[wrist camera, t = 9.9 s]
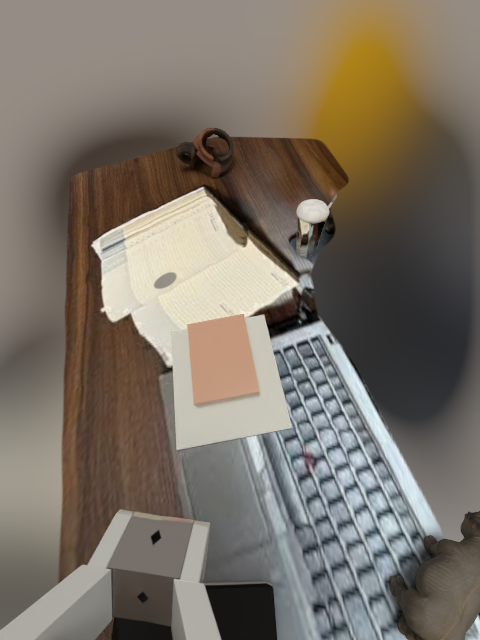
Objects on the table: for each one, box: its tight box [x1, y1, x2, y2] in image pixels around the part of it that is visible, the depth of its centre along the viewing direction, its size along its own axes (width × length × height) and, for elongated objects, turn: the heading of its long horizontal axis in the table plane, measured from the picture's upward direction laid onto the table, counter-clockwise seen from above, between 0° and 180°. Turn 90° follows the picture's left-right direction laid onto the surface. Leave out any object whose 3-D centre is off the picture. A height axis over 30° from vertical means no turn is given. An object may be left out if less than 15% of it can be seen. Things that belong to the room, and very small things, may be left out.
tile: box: [187, 314, 260, 408], centre depth 36 cm, size 2×8×11 cm
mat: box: [171, 315, 292, 450], centre depth 36 cm, size 16×14×1 cm
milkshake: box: [296, 195, 337, 258], centre depth 42 cm, size 4×5×10 cm
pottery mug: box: [176, 128, 234, 178], centre depth 58 cm, size 12×10×8 cm
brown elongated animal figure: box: [390, 511, 480, 640], centre depth 23 cm, size 4×14×6 cm, turn 129°
